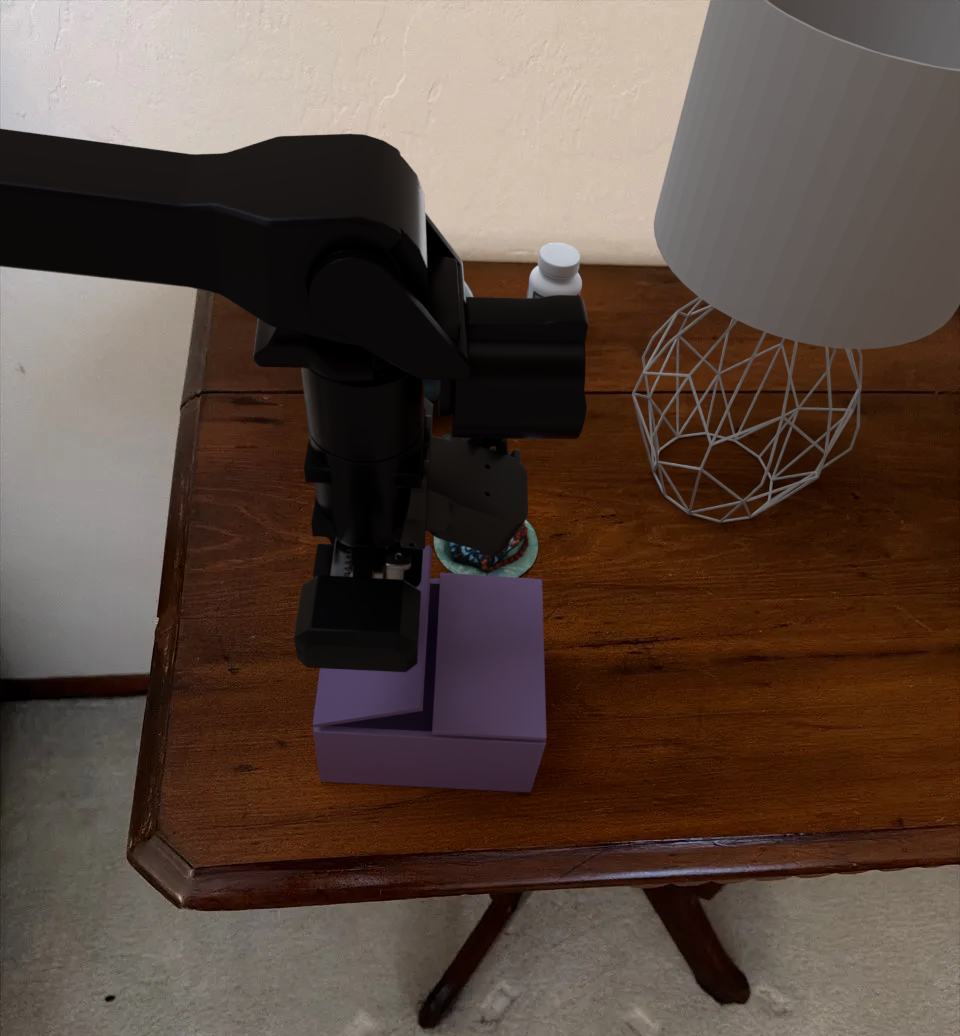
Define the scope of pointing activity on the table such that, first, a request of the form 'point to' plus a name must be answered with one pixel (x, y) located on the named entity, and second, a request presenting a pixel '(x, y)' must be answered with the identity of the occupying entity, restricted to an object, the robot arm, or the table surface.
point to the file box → (460, 698)
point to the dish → (506, 564)
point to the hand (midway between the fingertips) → (375, 607)
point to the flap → (376, 680)
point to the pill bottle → (555, 272)
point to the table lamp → (813, 193)
